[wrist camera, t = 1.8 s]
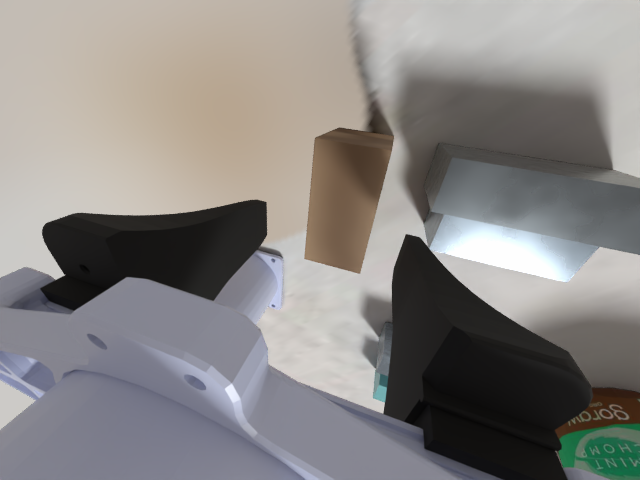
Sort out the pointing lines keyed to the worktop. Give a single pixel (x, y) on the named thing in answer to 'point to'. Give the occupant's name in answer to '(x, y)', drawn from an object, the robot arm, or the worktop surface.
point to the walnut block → (345, 195)
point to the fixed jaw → (528, 210)
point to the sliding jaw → (383, 362)
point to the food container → (604, 436)
